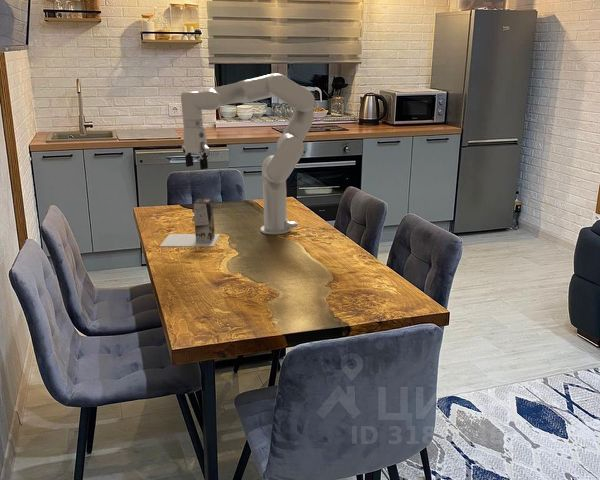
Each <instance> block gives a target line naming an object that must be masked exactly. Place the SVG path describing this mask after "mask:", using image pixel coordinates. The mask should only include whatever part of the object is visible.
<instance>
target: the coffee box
mask: <svg viewBox="0 0 600 480" xmlns="http://www.w3.org/2000/svg"><path fill="white" fill-rule="evenodd" d="M214 215H215V214H214V198H212V197H210V198H197V199H196V200H195V201H194V202H193V217H194V218H193V219H194V231H195V233H194V234H195V236H196V243H211V242H212V241H213V239H214V237H215V234H216V233H215V232H216V230H215V216H214Z"/></svg>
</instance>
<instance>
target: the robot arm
mask: <svg viewBox="0 0 600 480" xmlns="http://www.w3.org/2000/svg"><path fill="white" fill-rule="evenodd" d="M274 97H275V98H277V99H278V100H280V101H282V102H283V103H285V104H287V105H288V106H290V107H292V116H291V118H290V121H289V122H288V124H287V125H286V127H285V129H284V130H283V132H282V134H281V135H280V137H279V138H278V139H277V142H276V149H277V150H276V151H275V152H274V154H273V155H269V156H267V157H266V158H265V159H263V161H262V166H261V177H262V188H263V190H262V193H263V194H262V195H263V225H262V226H261V227H260V233H262V234H265V235H271V236H272V235H274V236H275V235H286V234H288V233H289V232H291V228H298V222H295V221H289V218H287V213H288V212H287V179H288V178H289V177H290V175H291V174H292V172H293V171H294V169H295V167H296V166H297V164H298V162H300V159H301V158H302V155H303V153H304V149H305V148H304V147H305V145H304V143H303V141H304V140H305V138H306V137H307V135H308V132H309V131H310V129H311V128H312V125H313V121H314V116H315V113H314V106H315V103H316V102H315V101H316V100H315V96H314V94H313V92H311V91H310V90H309V89H307V88H305V87H304V86H302V85H300V84H298V83H296V82H295V81H293V80H292V79H290V78H289V77H287V76H286V75H284V74H282V73H270V74H266V75H262V76H258V77H254V78H249V79H243V80H240V81H237V82H234V83H228V84H226V85H224V84H223V85H221V86H216V87H211V88H207V89H205V90H204V91H197V90H191V91H190V90H189V91H183V92H181V94H180V101H181V113H182V124H183V143H182V144H181V148H182V152H183V156H184V158H185V166H186V167H188V168H189V167H193V166H194V158H193V154H194V155H198V156H199V158H200V159H199V166H200V168H199V169H200V170H207V169H208V168H209V165H208V158H209V154H210V150H211V149H210V147H209V146H208V141H207V140H208V139H207V134H206V130H205V127H204V121H203V111H204V110H205V111H217V109H219V108H220V107H223V106H226V105H231V104H239V103H240V104H247V103H252V102H256V101H260V100H265V99H268V98H274Z"/></svg>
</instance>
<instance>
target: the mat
mask: <svg viewBox="0 0 600 480" xmlns="http://www.w3.org/2000/svg"><path fill="white" fill-rule="evenodd" d="M220 235H221V234H220V233H215V237H214V239H213V241H212V242H211V243H196V236H195V233H169V234H168V235H167V236H166V238H165V239H164V240H163V241H162V242H161V244H159V247H160V248H161V247H162V248H163V247H165V248H167V247H169V248H171V247H172V248H176V247H177V248H183V247H184V248H185V247H187V248H191V247H192V248H213V247H215V245H216V243H217V241H218V239H219V238H220Z"/></svg>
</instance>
